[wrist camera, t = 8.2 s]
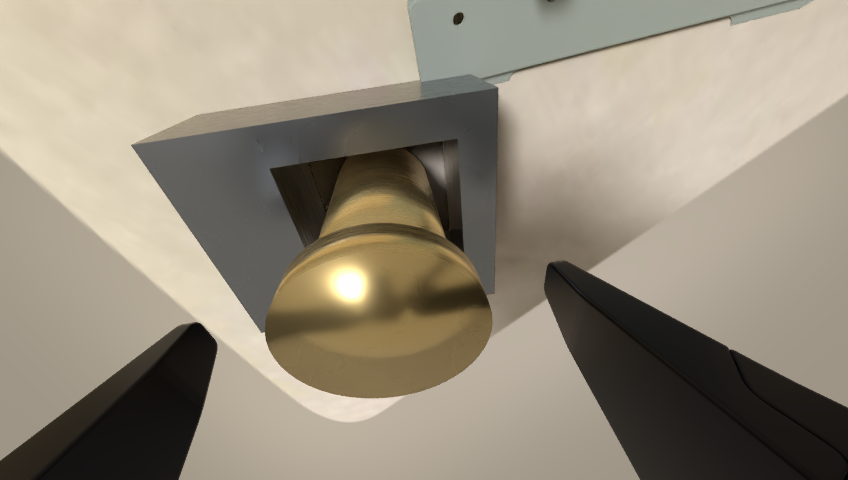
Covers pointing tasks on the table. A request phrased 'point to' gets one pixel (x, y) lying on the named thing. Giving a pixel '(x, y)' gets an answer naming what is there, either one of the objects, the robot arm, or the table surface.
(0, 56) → the table surface
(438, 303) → the knob
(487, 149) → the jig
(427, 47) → the metal bracket
